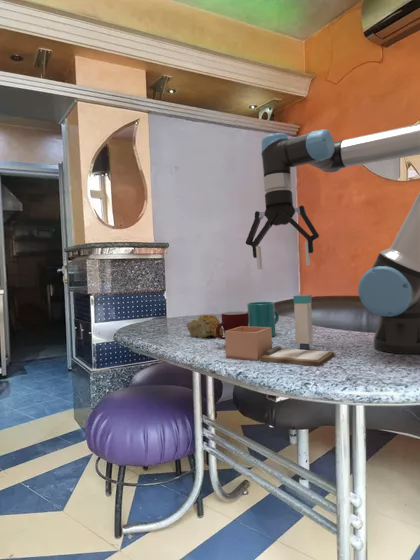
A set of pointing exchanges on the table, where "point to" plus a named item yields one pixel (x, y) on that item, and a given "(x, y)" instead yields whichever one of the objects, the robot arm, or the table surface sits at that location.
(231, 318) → the mug
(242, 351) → the pen pot
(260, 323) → the cup
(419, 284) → the robot arm
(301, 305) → the marker
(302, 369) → the table surface
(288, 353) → the open book
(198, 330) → the rock
